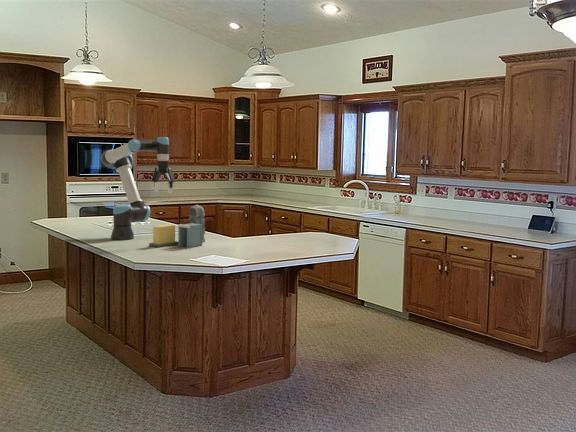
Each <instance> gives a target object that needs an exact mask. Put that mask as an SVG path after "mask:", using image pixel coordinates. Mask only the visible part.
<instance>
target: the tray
mask: <svg viewBox="0 0 576 432" xmlns="http://www.w3.org/2000/svg"><path fill="white" fill-rule="evenodd" d="M148 246H149V247H151V246H152V247H153V248H157V247H158V248H163V247H164V248H165V247H172V246H178V241H177V240H175V242H173V243H166V244H159V245H158V244H153V242H149V244H148ZM158 248H157V249H158Z"/></svg>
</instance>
